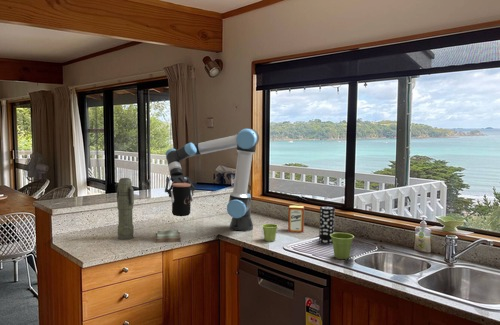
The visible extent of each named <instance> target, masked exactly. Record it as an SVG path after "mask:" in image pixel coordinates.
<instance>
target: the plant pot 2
mask: <svg viewBox="0 0 500 325" xmlns="http://www.w3.org/2000/svg"><path fill="white" fill-rule="evenodd" d="M330 236H331V238H332V242H333V244H332V248H333V256H334V258H335V259H339V260H343V259H345V260H347V259H349V258H350V256H351V249H352V243H353V242H354V241H353V240H354V238H355V236H354V235H353V234H351V233H348V232H334V233H333V234H331V235H330Z"/></svg>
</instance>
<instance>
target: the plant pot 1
mask: <svg viewBox="0 0 500 325" xmlns="http://www.w3.org/2000/svg"><path fill="white" fill-rule="evenodd" d="M261 227H262V230H263V236H264V237H263V238H264V241H266V242H274V240H275V241H276V237H277V230H278V227H279V225H278V224H276V223H275V224H274V223H265V224H262V225H261Z"/></svg>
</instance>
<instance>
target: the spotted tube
mask: <svg viewBox="0 0 500 325" xmlns="http://www.w3.org/2000/svg"><path fill="white" fill-rule="evenodd" d="M335 214H336V208H335V207H333V206H321V207H319V227H318V228H319V232H318V233H319V234H318V243H320V244H321V245H333V242H332V238H331V236H330V235H331V234H333V233H335V218H336V217H335Z"/></svg>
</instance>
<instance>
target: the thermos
mask: <svg viewBox="0 0 500 325" xmlns="http://www.w3.org/2000/svg"><path fill="white" fill-rule="evenodd" d="M117 185H118V186H117V187H116V203H117V206H116V208H117V210H118V211H117V212H118V215H117V216H118V217H117V218H118V225H117V239H118V240H120V241H122V240H123V241H127V240H132V239H134V233H135V232H134V231H135V230H134V229H135V228H134V224H133V223H134V222H133V209H134V204H135V203H134V200H135V197H134V194H135V193H134V192H135V190H134V187H133V182H132V180H131V178H129V177H121V178H119V180H118V183H117Z"/></svg>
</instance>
